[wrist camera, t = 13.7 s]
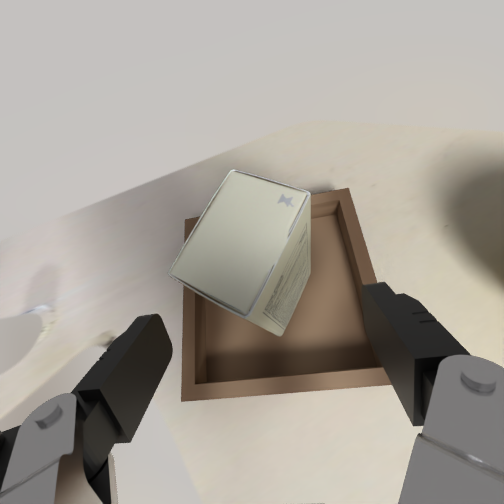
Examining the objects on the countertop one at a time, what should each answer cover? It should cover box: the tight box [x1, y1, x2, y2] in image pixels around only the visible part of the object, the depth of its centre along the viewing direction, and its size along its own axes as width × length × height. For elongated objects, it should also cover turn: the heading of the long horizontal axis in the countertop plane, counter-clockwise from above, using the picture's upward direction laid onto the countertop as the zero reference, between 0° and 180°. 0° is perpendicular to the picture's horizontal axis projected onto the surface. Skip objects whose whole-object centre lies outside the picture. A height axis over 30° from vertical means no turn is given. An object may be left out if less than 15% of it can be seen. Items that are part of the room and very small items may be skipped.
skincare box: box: [168, 169, 311, 336], centre depth 16 cm, size 6×4×12 cm
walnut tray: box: [181, 188, 392, 402], centre depth 21 cm, size 15×15×3 cm
